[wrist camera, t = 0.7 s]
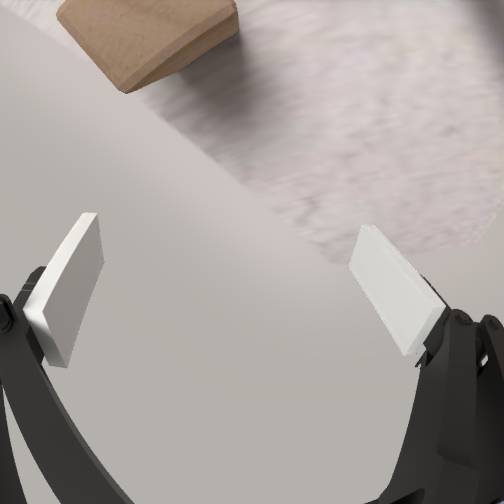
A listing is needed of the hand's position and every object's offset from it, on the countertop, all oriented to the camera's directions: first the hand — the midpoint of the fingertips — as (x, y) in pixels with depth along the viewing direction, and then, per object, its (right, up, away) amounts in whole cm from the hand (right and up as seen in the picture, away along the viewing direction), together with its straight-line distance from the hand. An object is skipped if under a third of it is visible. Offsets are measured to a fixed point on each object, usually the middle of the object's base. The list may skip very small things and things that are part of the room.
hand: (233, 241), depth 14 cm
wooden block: (-7, +28, +14) cm, 32 cm away
